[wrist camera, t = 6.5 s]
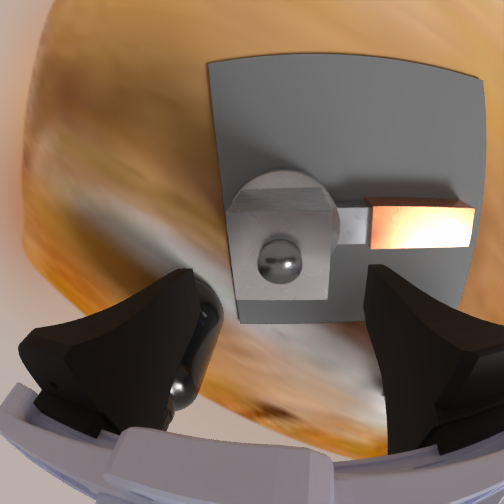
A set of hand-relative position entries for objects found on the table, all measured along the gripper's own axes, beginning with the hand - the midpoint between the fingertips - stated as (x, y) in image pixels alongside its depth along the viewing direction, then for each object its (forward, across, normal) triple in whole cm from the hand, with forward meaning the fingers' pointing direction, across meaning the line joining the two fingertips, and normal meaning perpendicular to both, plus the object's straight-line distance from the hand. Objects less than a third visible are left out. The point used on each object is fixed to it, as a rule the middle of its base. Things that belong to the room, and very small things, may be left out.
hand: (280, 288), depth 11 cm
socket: (+6, 0, 0) cm, 7 cm away
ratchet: (+9, -5, 0) cm, 10 cm away
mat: (+9, -6, -1) cm, 11 cm away
